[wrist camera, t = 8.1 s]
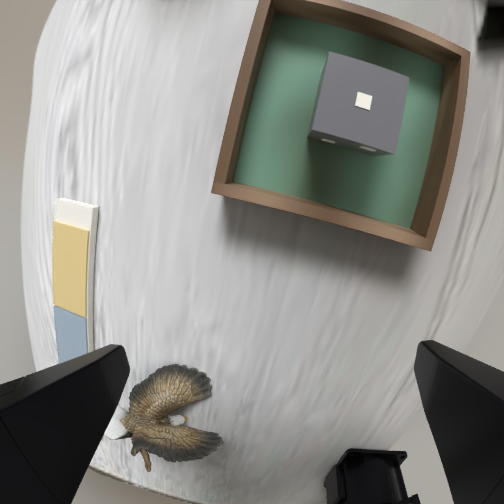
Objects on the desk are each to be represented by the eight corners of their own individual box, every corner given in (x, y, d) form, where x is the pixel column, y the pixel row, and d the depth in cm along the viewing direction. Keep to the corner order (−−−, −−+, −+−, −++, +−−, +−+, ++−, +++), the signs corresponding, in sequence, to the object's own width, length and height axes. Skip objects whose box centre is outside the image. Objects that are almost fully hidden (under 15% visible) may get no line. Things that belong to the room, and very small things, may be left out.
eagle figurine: (181, 457, 25) (247, 438, 21) (119, 483, 19) (176, 476, 15) (148, 387, 28) (203, 351, 24) (83, 400, 22) (125, 365, 18)
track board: (98, 206, 20) (91, 208, 19) (101, 434, 27) (97, 440, 26) (62, 197, 20) (54, 199, 20) (74, 422, 27) (70, 427, 26)
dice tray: (448, 64, 15) (470, 52, 12) (411, 238, 19) (430, 251, 16) (267, 8, 16) (263, -16, 13) (222, 188, 19) (211, 192, 16)
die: (386, 93, 16) (409, 77, 12) (373, 156, 17) (395, 155, 13) (321, 73, 16) (329, 50, 12) (306, 137, 17) (311, 130, 13)
